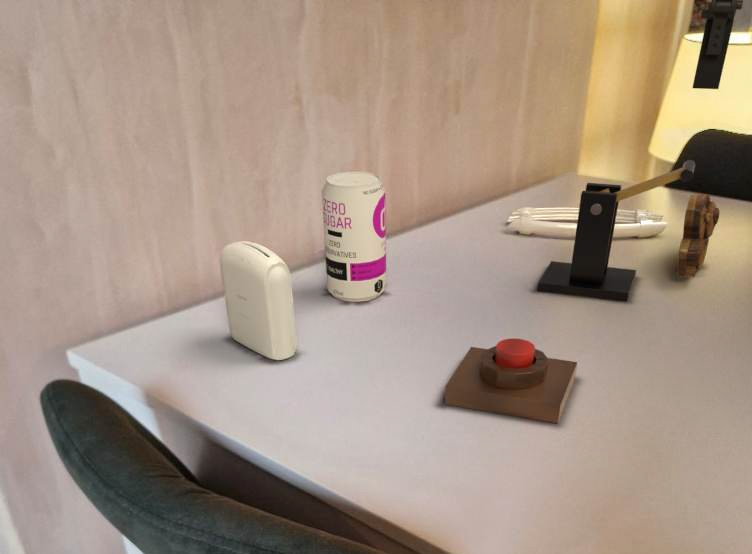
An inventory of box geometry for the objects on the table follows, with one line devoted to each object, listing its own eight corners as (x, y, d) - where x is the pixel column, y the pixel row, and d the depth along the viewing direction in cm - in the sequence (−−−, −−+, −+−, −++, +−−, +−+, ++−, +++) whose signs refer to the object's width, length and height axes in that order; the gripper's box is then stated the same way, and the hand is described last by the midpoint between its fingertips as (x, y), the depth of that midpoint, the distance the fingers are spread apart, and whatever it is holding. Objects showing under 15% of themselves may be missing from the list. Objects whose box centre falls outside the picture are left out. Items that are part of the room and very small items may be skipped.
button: (536, 356, 81) (538, 341, 80) (528, 372, 79) (530, 357, 77) (500, 351, 83) (501, 336, 82) (490, 367, 80) (492, 351, 79)
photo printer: (225, 338, 95) (211, 239, 88) (254, 328, 98) (242, 230, 90) (273, 365, 89) (262, 260, 82) (302, 354, 91) (294, 251, 84)
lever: (697, 173, 96) (692, 154, 95) (695, 183, 92) (690, 163, 91) (594, 210, 103) (589, 193, 102) (588, 221, 100) (583, 203, 98)
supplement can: (391, 283, 109) (390, 171, 100) (378, 305, 103) (377, 188, 93) (336, 279, 111) (331, 169, 101) (320, 301, 104) (313, 186, 95)
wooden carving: (705, 290, 104) (724, 215, 98) (669, 287, 105) (686, 212, 99) (707, 251, 116) (724, 182, 110) (675, 248, 118) (690, 180, 111)
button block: (574, 379, 85) (579, 346, 82) (557, 423, 77) (562, 388, 75) (469, 364, 88) (471, 331, 86) (444, 404, 81) (445, 370, 79)
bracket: (634, 278, 108) (653, 183, 100) (627, 301, 102) (646, 202, 94) (550, 269, 112) (561, 176, 104) (537, 291, 105) (548, 194, 98)
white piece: (666, 242, 120) (506, 237, 124) (658, 223, 128) (507, 219, 131) (670, 225, 118) (508, 220, 122) (661, 206, 126) (509, 202, 130)
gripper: (725, -170, 84) (679, 67, 97) (719, -190, 68) (665, 96, 82) (801, -174, 81) (742, 68, 95) (813, -196, 66) (741, 99, 79)
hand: (707, 81), depth 88 cm, fingers open, 9 cm apart
